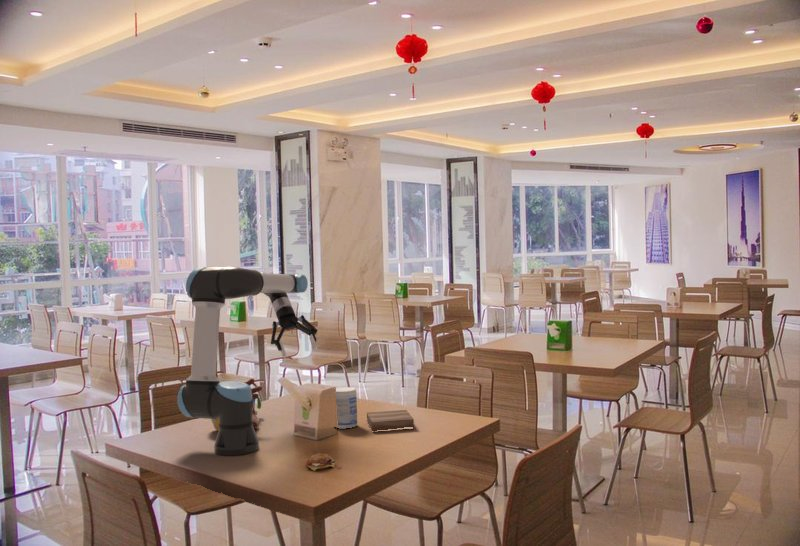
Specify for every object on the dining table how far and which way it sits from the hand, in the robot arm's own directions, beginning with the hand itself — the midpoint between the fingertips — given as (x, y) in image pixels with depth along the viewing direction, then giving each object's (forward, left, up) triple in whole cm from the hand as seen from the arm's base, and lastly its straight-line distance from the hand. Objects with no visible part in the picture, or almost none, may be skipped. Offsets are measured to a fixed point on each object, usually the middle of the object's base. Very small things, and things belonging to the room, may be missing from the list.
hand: (300, 352), depth 284 cm
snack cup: (+6, +24, -28) cm, 37 cm away
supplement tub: (-17, -16, -28) cm, 36 cm away
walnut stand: (-21, -33, -27) cm, 48 cm away
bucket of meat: (-13, +35, -21) cm, 43 cm away
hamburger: (-67, -5, -28) cm, 73 cm away
